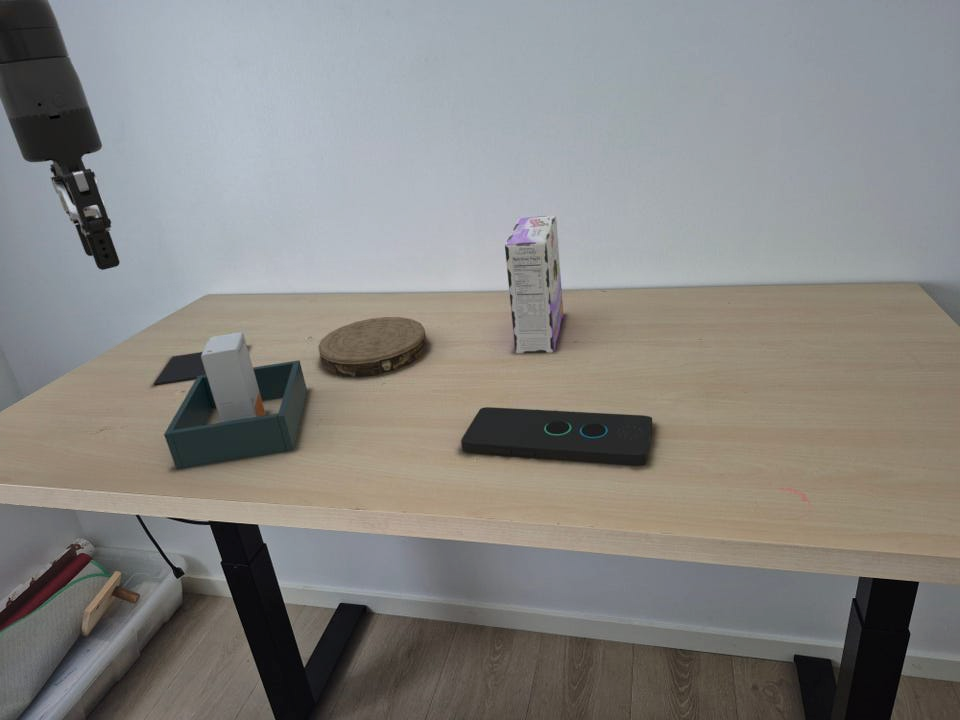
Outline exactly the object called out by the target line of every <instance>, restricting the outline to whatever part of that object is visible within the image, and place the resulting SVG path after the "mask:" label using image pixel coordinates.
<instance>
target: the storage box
mask: <svg viewBox="0 0 960 720" xmlns="http://www.w3.org/2000/svg"><path fill="white" fill-rule="evenodd" d="M253 370H254V373H255V377H256V381H257V384H258V388H259V391H260V395H261V399H262V402H263V401H268V400H275V399H281V398H282V400H281V403H280V407H279V410H278V413H271V414H266V415H265V416H258V417H252V418H246V419H240V420H233V421H227V422H221V421H220V422H214V423H209V424H208V423H207V424H206V422H207V420H208V418H209V417H210V414H211V412H212V410H213V409H217V407H216V404H215V401H214V398H213V394H212V391H211V388H210V385H209V381H208V378H207V375H201V376H198V377H197V378H196V379H194V382H193V384H192V385H191V387H190V389H189V390H188V392H187V394H186V396H185V397H184V398H183V400H182V402H181V404H180V406H179V408H178V409H177V411H176V413H175V415H174V416H173V418H172V420H171V421H170V424H169V425H168V426H167V429H166V430H165V432H164V434H163V436H164V438H165V442H166V445H167V447H168V450H169V453H170V455H171V458H172V461H173V463H174V464H173V465H174V466H175V469H176V470H181V469H187V468H194V467H201V466H205V465H207V466H208V465H214V464H220V463H224V462H231V461H237V460H242V459H251V458H255V457H262V456H268V455H273V454H274V455H275V454H281V453H287V452H292V451H293V452H294V450H295V446H296V442H297V437H298V434H299V429H300V424H301V421H302V415H303V412H304V407H305V402H306V400H307V399H306V398H307V394H308V389H307V384H306V380H305V377H304V373H303V369H302V365H301V360H299V359H298V360H294V361H293V360H292V361H285V362H278V363H273V364H267V365H260V366H253Z"/></svg>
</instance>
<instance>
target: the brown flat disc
mask: <svg viewBox="0 0 960 720" xmlns="http://www.w3.org/2000/svg"><path fill="white" fill-rule="evenodd" d="M317 348H318V353H319V356H320V362H321V365H322V368H323V370H324V371H325V372H327V373H328V374H330V375H332V376H335V377H340V378H344V379H345V378H346V379H364V378H365V379H366V378H375V377H379V376H383V375H387V374H392V373H395V372H397V371H400V370H403V369H406V368H408V367H410V366H411V365H413V364H415V363H416V362H417V361H419V360H420V359H422V357H423V356H424V355H425V354H426V353H427V348H428V341H427V335H426V329H425V326H423V324H422V323H421V322H419V321H417V320H415V319H412V318H409V317H408V318H407V317H401V316H383V317H375V318H367V319H364V320H359V321H355V322H351V323H349V324H346V325H343V326H340V327H338V328H336V329H335V330H333V331H331V332H328V334H326V335H325V336H324V337H323V338H321V340H320V341H319V344H318V346H317Z"/></svg>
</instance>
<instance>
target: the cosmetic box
mask: <svg viewBox="0 0 960 720" xmlns="http://www.w3.org/2000/svg"><path fill="white" fill-rule="evenodd" d="M202 352H203V353H202V355H201V358H202V362H203V365H204V369H205V372H206V375H207V378H208V381H209V385H210V388H211V391H212V394H213V398H214V401H215V404H216V407H217V408H216V411H217V414H218V417H219V420H220V423H221V422H227V421H233V420H240V419H246V418H252V417H258V416H265V415H267V414H266V410H265V406H264V402H263V401H262V399H261V395H260V391H259V388H258V384H257V381H256V377H255V373H254V370H253V367H254V366H253V362H252V359H251V356H250V352H249V348H248V345H247V341H246V338H245V334H244V332H243V331H240V332H235V333H227V334H222V335H214V336H211V337H210V338H209V340H208V341H207V343H206V344H205V346H204V349H203V351H202Z"/></svg>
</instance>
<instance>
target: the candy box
mask: <svg viewBox="0 0 960 720" xmlns="http://www.w3.org/2000/svg"><path fill="white" fill-rule="evenodd" d="M557 223H558V222H557V216H556V215H542V216H532V217H530V216H529V217H528V216H527V217H519V218H518V220H517V222H516V223H515V226H514V227H513V229H512V231H511V233H510V234H509V237H508V238H507V240H506V241H505V244H504V251H505V260H506V271H507V283H508V291H509V302H510V310H511V311H510V312H511V322H512V331H513V332H512V333H513V342H514V353H515V354H543V353H544V354H548V353H551V354H552V353H554V352H555V350H556V347H557V342H558V340H559V339H558V338H559V335H560V332H561V331H560V330H561V327H562V322H563V318H564V305H563V303H564V302H563V291H562V278H561V277H562V276H561V264H560V263H561V262H560V249H559V237H558V225H557Z"/></svg>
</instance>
